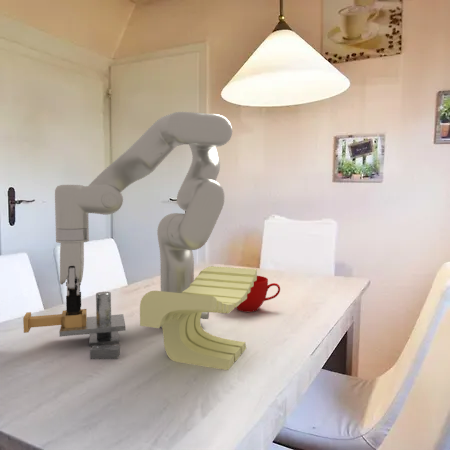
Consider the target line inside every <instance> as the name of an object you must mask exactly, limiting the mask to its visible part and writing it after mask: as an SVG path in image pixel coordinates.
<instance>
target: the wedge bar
mask: <svg viewBox="0 0 450 450" xmlns="http://www.w3.org/2000/svg"><path fill="white" fill-rule="evenodd" d="M89 351H90V352H89V353H90V354H89V357H90V360H118V358H119V357H120V356H121V345H120V344H119V345H117V344H116V345H115V344H108V345H98V346H91V348H90V349H89Z"/></svg>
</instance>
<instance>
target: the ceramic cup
mask: <svg viewBox="0 0 450 450" xmlns="http://www.w3.org/2000/svg"><path fill="white" fill-rule="evenodd" d="M273 286H274V287H277V291H276V293H275V294H274V295H272V296H269V297H267V292H268V290H269V289H270V288H271V287H273ZM280 292H281V287H280V285H279V284H278V283H276V282H274V283H270V284H269V280H268V277H265V276H263V275H262V276H261V275H257V280H256V281H255V282H254V286H253V287H252V288H251V287H250V293H249V294H247V299H246V300H245V301H243V302H241V304H240V305H238V306H237V307H236V309H237V310H238V311H240V312H244V313H246V312H247V313H252V312H256V311H258V309H260V307H262V305H263V303H264V302H266V301H269V300H272V299H275V298H276V297H277V296H278V295H279V294H280Z"/></svg>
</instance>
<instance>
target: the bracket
mask: <svg viewBox="0 0 450 450" xmlns="http://www.w3.org/2000/svg"><path fill="white" fill-rule="evenodd" d="M87 313H88V312H87V308H83V309H82V308H81V310H80V315H68V312H67V311H66V310H62V312H61V313H60V314H48V315H34V316H33V315H32V312H31V311H29V312H25V314H24V316H23V317H22V318H23V319H22V320H23V323H22V324H23V333H26V334H27V333H29V332H30V330H31V329H33V328H43V327H54V326H55V327H56V326H60V328H61V329H63V328H74V327H85V326H86V321H87V317H88V316H87V315H88V314H87Z"/></svg>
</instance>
